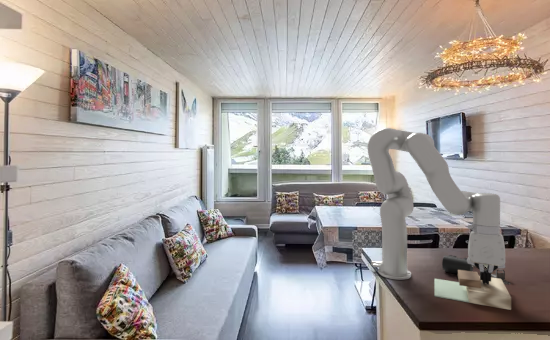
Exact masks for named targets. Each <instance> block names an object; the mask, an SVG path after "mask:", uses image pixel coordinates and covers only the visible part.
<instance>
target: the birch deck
mask: <svg viewBox="0 0 550 340" xmlns="http://www.w3.org/2000/svg"><path fill="white" fill-rule="evenodd" d="M479 278H480V275H479ZM480 281H481V288H475V287H468V286H466V291H467V295H468V299H469V302H468V303H470V304H475V305H481V306H487V307H492V308H497V309H504V310H508V311H509V310H510V311H511V310H512V296H511V294H510V292H509V291H508V289H507V287H506V284H504V283H503V281H502V279H499V278H493V277H492V276H491V282H490V281H489V285H488V284H483V282H482V280H480Z"/></svg>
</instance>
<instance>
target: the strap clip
mask: <svg viewBox="0 0 550 340" xmlns="http://www.w3.org/2000/svg"><path fill="white" fill-rule="evenodd" d="M498 271H499V272H498ZM500 271H501V272H500ZM491 277H492V278H499V279H502V281H503V283H504V285H511V282H509V281H508V280H506V273H505V269H496V270H495V274H493V273H491Z"/></svg>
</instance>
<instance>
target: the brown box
mask: <svg viewBox="0 0 550 340" xmlns="http://www.w3.org/2000/svg"><path fill="white" fill-rule="evenodd" d="M479 276H480V274H479V273H478V271H474V270H473V271H464V270H458V274H457V279H458V282H459V285H460V286H468V287H475V288H481V281H480V278H479Z"/></svg>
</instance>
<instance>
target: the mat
mask: <svg viewBox="0 0 550 340" xmlns="http://www.w3.org/2000/svg"><path fill="white" fill-rule="evenodd" d="M433 280H434V282H433V285H434V286H433V288H434V289H433V290H434V296H433V297H435V298H442V299H448V300H453V301H458V302H465V303H469V299H468V295H467V291H466V286H460V285H459V281H453V280H447V279H446V280H445V279H441V278H434V279H433Z"/></svg>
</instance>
